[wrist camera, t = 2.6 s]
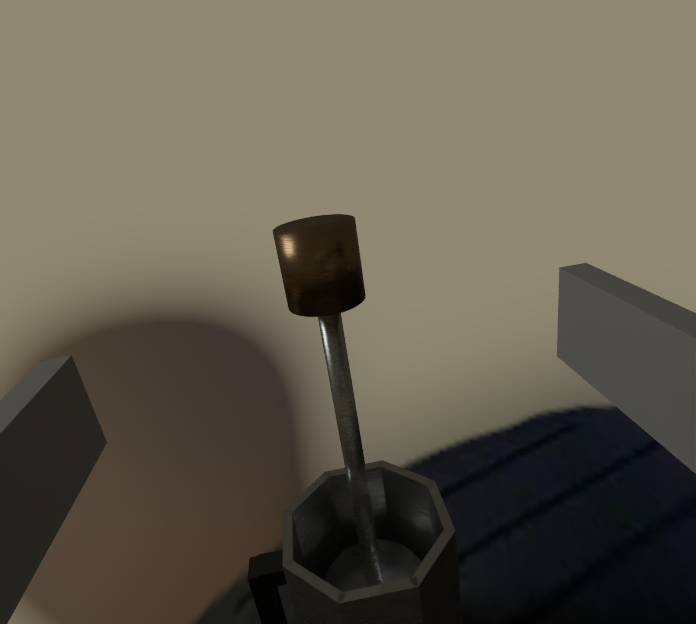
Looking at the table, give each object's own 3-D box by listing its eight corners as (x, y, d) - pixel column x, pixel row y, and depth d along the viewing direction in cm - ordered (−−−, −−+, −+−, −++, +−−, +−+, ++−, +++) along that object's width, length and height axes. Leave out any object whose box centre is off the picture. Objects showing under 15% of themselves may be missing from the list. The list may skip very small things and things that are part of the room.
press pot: (440, 606, 42) (425, 450, 36) (488, 757, 32) (478, 577, 26) (291, 638, 41) (248, 484, 35) (293, 802, 31) (232, 629, 25)
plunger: (413, 538, 36) (372, 201, 27) (441, 629, 30) (400, 226, 20) (322, 557, 36) (247, 222, 26) (330, 653, 29) (234, 254, 20)
